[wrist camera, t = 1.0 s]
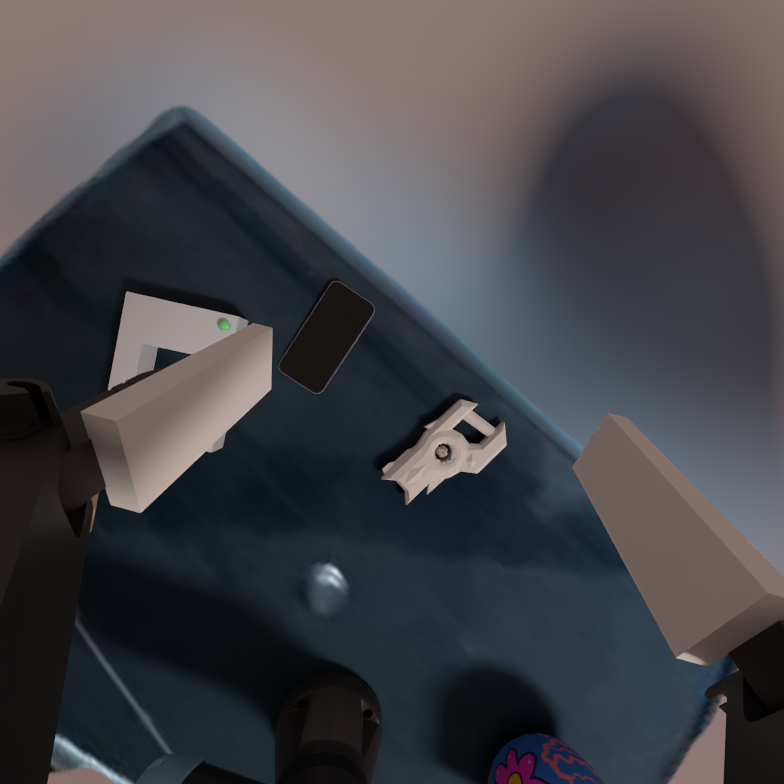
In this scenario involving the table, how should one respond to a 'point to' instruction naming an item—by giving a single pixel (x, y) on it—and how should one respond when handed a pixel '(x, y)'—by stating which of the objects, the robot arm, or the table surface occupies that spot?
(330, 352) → the smartphone
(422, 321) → the table surface
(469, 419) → the angular bracket part
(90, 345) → the table surface
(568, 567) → the table surface
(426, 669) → the table surface
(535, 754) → the ceramic pot
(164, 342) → the port
